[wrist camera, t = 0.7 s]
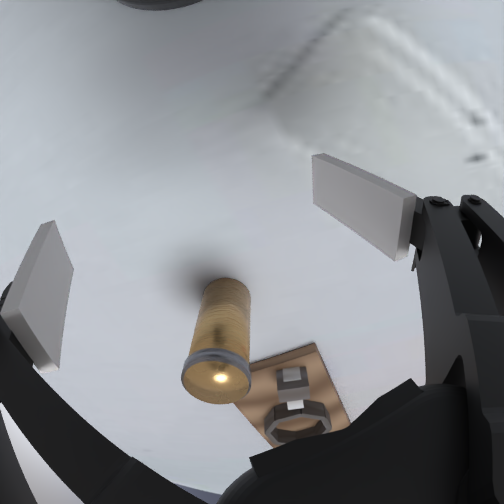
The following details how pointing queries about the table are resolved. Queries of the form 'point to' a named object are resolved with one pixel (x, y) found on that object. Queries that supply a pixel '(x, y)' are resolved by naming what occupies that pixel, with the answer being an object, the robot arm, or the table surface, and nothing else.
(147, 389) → the table surface
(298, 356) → the base
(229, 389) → the brass cylinder
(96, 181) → the table surface
